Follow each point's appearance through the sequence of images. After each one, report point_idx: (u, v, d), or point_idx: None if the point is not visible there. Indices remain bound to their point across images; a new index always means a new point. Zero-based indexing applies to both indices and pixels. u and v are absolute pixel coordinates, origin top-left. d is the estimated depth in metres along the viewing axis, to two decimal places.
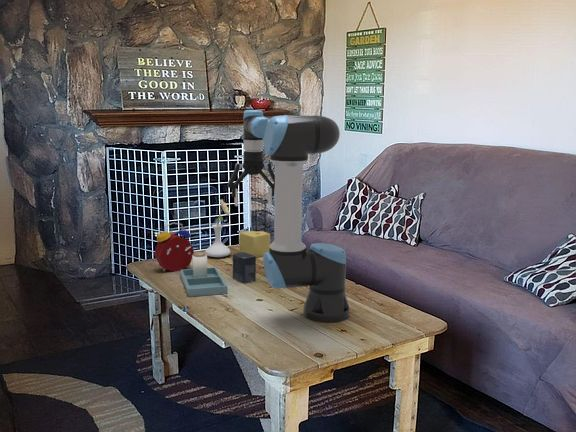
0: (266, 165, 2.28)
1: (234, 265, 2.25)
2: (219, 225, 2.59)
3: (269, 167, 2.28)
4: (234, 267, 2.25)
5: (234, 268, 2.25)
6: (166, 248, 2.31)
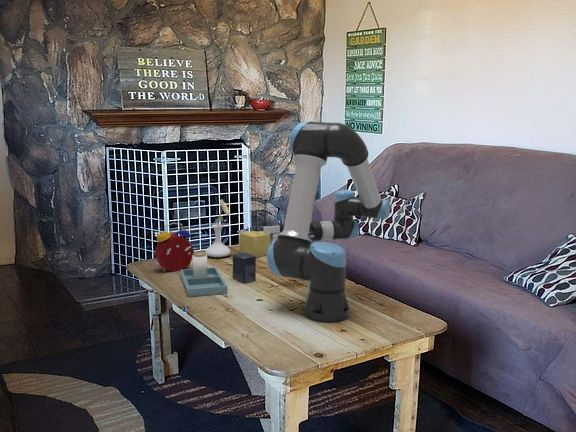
0: None
1: (234, 265, 2.25)
2: (219, 225, 2.59)
3: (309, 232, 2.23)
4: (234, 267, 2.25)
5: (234, 268, 2.25)
6: (166, 248, 2.31)
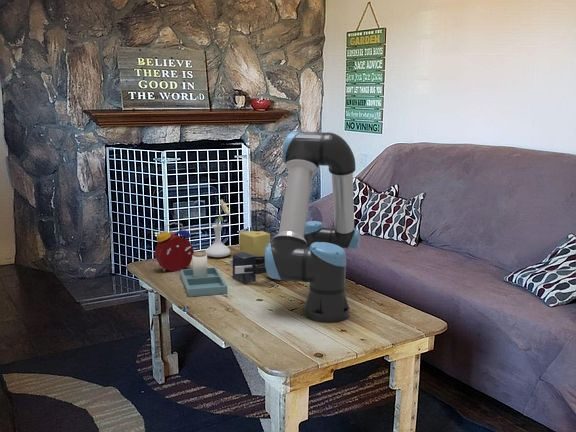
0: None
1: (234, 265, 2.25)
2: (219, 225, 2.59)
3: None
4: (234, 267, 2.25)
5: (234, 268, 2.25)
6: (166, 248, 2.31)
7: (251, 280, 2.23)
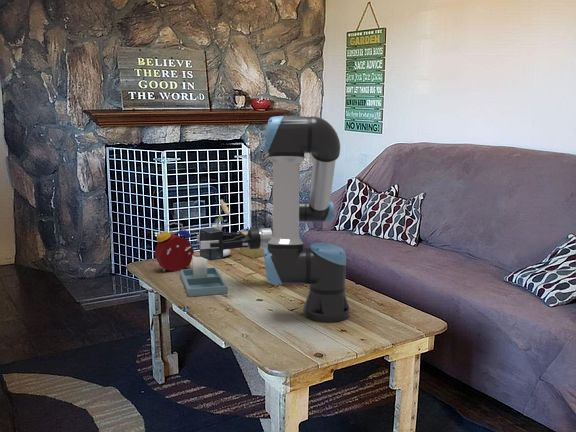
0: None
1: None
2: (219, 225, 2.59)
3: (243, 240, 2.11)
4: None
5: None
6: (166, 248, 2.31)
7: (218, 256, 2.12)
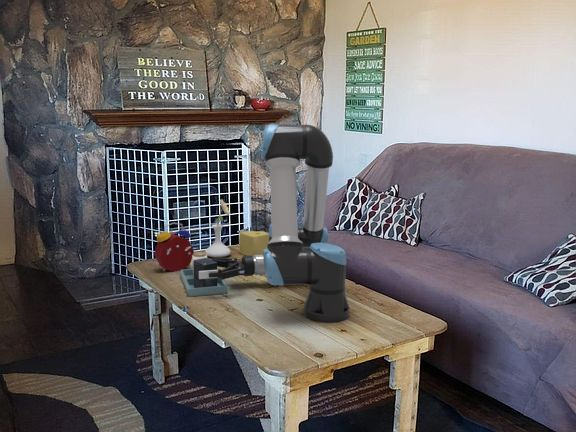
0: None
1: (195, 272, 2.14)
2: (219, 225, 2.59)
3: (239, 268, 2.10)
4: (195, 274, 2.14)
5: (195, 275, 2.14)
6: (166, 248, 2.31)
7: None
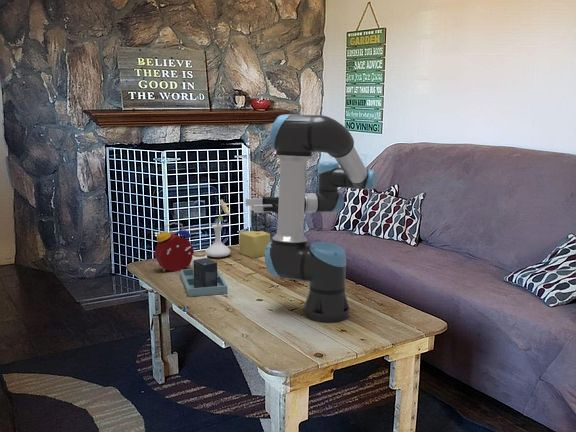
0: None
1: (195, 272, 2.14)
2: (219, 225, 2.59)
3: None
4: (195, 274, 2.14)
5: (195, 275, 2.14)
6: (166, 248, 2.31)
7: None
